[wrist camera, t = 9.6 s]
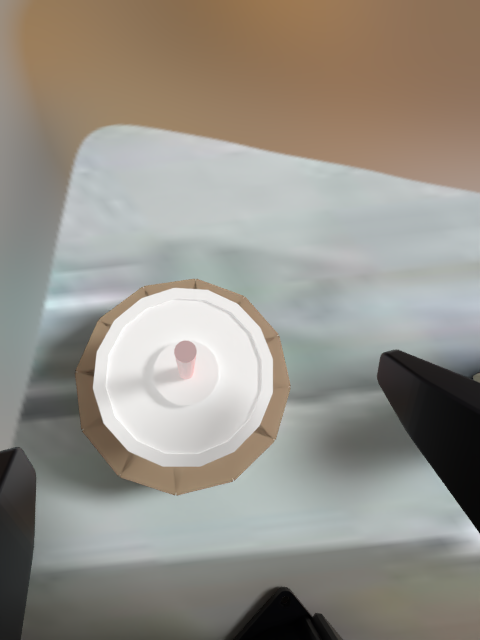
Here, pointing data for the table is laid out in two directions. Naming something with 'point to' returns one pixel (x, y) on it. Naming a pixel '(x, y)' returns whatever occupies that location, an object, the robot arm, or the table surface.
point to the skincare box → (477, 377)
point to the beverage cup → (183, 377)
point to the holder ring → (179, 477)
